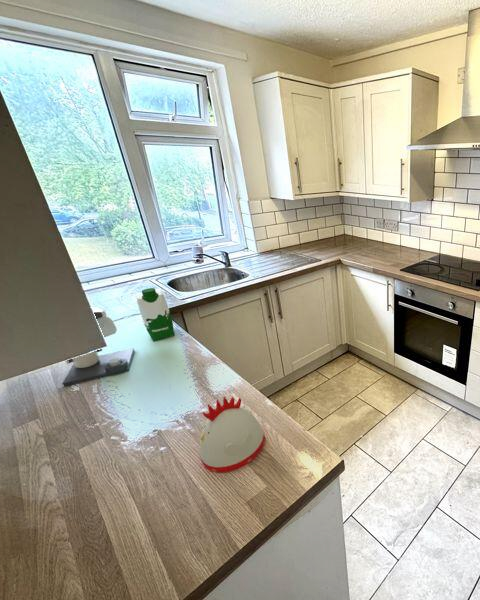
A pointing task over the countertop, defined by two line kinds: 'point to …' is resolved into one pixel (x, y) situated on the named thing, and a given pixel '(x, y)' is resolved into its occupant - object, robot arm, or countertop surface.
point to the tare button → (114, 362)
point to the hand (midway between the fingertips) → (85, 356)
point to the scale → (100, 368)
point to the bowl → (86, 360)
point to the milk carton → (155, 313)
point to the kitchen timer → (229, 437)
